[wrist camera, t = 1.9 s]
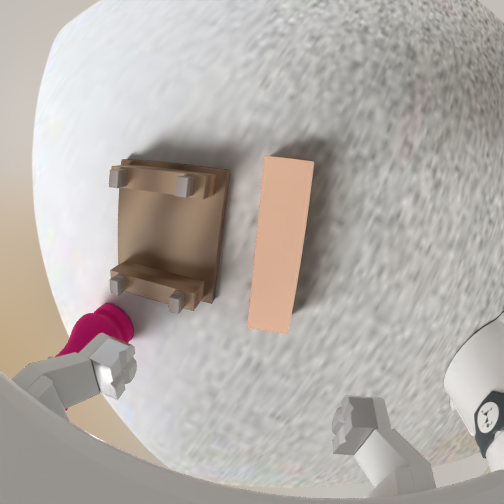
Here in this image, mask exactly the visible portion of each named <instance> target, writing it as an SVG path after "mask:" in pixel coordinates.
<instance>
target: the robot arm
mask: <svg viewBox="0 0 504 504" xmlns="http://www.w3.org/2000/svg"><path fill="white" fill-rule="evenodd" d="M134 354H135V348H134V346H133V345H131V344H128V343H126V342H123V341H121V340H118V339H116V338H114V337H111V336H109V335H106V334H104V333H100V334H98V335H97V336H96V337H95V338H94V339H93V340H92V341H91V342H90V343H88V344H87V345H86V346H85V347H84V348H83V349H82V350H81V351H80V352H79V353H76V352H74V353H70V354H66V355H62V356H58V357H54V358H50V359H46V360H42V361H38V362H34V363H30V364H28V365H27V366H26V367H25V368H24V369H23V370H21V371H20V372H19V373H18V374H17V375H16V376H15V377H14V378H13V379H12V380H11V379H10V378H9V377H7V376H6V375H5V374H4V373H3V372H2V371H0V504H504V312H503V313H502V314H501V315H500V316H499V317H498V319H496V320H495V321H493V322H492V323H490V324H488V325H487V326H485V327H483V328H482V329H481V330H479V331H478V332H477V333H476V334H474V335H473V336H472V337H471V338H470V339H469V340H468V341H467V342H466V343H465V344H464V345H463V346H462V347H461V349H460V350H459V351H458V352H457V354H456V355H455V357H454V358H453V360H452V361H451V363H450V365H449V367H448V369H447V372H446V375H445V379H444V388H445V391H446V392H447V394H448V395H449V396H450V406H451V408H452V410H453V411H458V412H459V414H460V416H461V418H462V420H463V421H464V423H465V425H466V427H467V428H468V430H469V432H470V434H471V435H473V436H475V439H476V442H477V445H478V446H477V447H478V449H479V451H480V452H481V454H482V456H483V458H486V459H487V461H488V464H489V467H490V470H491V473H488V474H485V475H483V476H480V477H477V478H473V479H470V480H467V481H464V482H460V483H456V484H452V485H448V486H445V487H440V488H436V485H435V481H434V477H433V472H432V468H431V464H430V463H429V462H428V461H427V460H426V459H425V458H424V457H423V456H422V455H421V454H420V453H419V452H418V451H417V450H416V449H415V448H414V447H413V446H412V445H411V444H410V443H409V442H407V441H406V440H405V439H404V438H403V437H402V436H401V435H400V434H399V433H398V432H397V431H396V430H395V429H391V425H390V421H389V417H388V413H387V409H386V405H385V401H384V399H383V398H379V397H363V396H350V395H346V396H345V397H344V398H343V400H342V407H340V408H338V409H337V411H336V413H335V415H334V418H333V422H332V431H333V433H334V434H335V435H336V436H335V437H334V439H333V454H344V455H354V458H355V459H356V461H357V462H358V464H359V465H360V467H361V468H362V469H363V471H364V472H365V474H366V475H367V477H368V478H369V480H370V481H371V483H372V484H373V485H374V487H375V488H374V489H373V490H371V491H370V492H369V493H368V494H366V495H365V496H364V498H348V499H329V498H306V497H293V496H284V495H276V494H268V493H261V492H255V491H250V490H244V489H239V488H234V487H230V486H225V485H221V484H217V483H213V482H209V481H205V480H202V479H198V478H195V477H192V476H188V475H185V474H182V473H179V472H176V471H173V470H170V469H167V468H164V467H162V466H159V465H156V464H154V463H151V462H149V461H146V460H144V459H141V458H139V457H136V456H134V455H132V454H130V453H127V452H125V451H123V450H121V449H119V448H117V447H115V446H112V445H110V444H109V443H107V442H104V441H102V440H101V439H99V438H97V437H95V436H93V435H91V434H89V433H88V432H86V431H84V430H82V429H81V428H79V427H77V426H76V425H74V424H72V423H70V422H69V421H70V420H69V417H68V415H67V413H66V411H65V409H66V408H69V407H71V406H73V405H75V404H78V403H80V402H82V401H84V400H86V399H89V398H91V397H93V396H95V395H97V394H99V393H100V392H101V393H103V394H105V395H107V396H110V397H112V398H114V399H116V400H118V399H119V397H120V396H121V395H122V393H123V392H124V391H125V384H127V383H130V382H131V381H132V379H133V378H134V376H135V373H136V368H137V364H136V360H135V359H134V358H133V355H134Z"/></svg>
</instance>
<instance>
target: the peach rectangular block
mask: <svg viewBox="0 0 504 504" xmlns="http://www.w3.org/2000/svg"><path fill="white" fill-rule="evenodd" d="M313 168H314V162H313V161H306V160H298V159H290V158H282V157H272V156H264V165H263V175H262V186H261V196H260V206H259V216H258V226H257V236H256V246H255V257H254V267H253V276H252V286H251V296H250V306H249V316H248V326H247V328H253V329H259V330H265V331H271V332H277V333H284V334H288V331H289V326H290V321H291V315H292V310H293V304H294V299H295V293H296V287H297V281H298V275H299V269H300V263H301V256H302V250H303V243H304V237H305V230H306V223H307V215H308V208H309V200H310V193H311V185H312V176H313Z"/></svg>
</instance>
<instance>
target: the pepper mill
mask: <svg viewBox="0 0 504 504" xmlns="http://www.w3.org/2000/svg"><path fill="white" fill-rule="evenodd" d="M100 333H104V334H106V335H109V336H111V337H114V338H116V339H118V340H121V341H123V342H126V343H128V342H129V341H130V340H131V339H132V336H133V326H132V323H131V321H130V319H129V318H128V316H127V315H126V314H125V313H124V311H122V310H121V309H120V308H119V307H117V306H115V305H112V304H104V305H102V306H101V307H99V308H98V309H97V310H96V311H95V312H94V313H89V314H86V315H84V316H82V317H81V318H80V319H79V320H78V321H77V322H76V324H75V326H74V327H73V330H72V332H71V335H70V338H69V340H68V343H67V344H66V346H65V348H64V349H63V350H62V351H61V352H60V353H59V354H58V355H56V356H55V357H58V356H62V355H66V354H70V353H74V352H76V353H79V352H80V351H81V350H82V349H83V348H84V347H85V346H86V345H87V344H88V343H90V342H91V341H92V340H93V339H94V338H95V337H96V336H97V335H98V334H100ZM50 358H54V357H48V358H47V359H50ZM67 409H68V408H66V409H65V411H66V410H67Z"/></svg>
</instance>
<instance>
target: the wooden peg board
mask: <svg viewBox="0 0 504 504" xmlns="http://www.w3.org/2000/svg"><path fill="white" fill-rule="evenodd" d="M229 176H230V170H225V169H218V168H210V167H202V166H194V165H186V164H176V163H166V162H156V161H144V160H130V159H123V160H122V161H121V165H119V166H112V169H111V170H110V178H109V187H113V188H119V208H118V266H116V267H115V268H113V269H112V270H110V273H111V279H110V291H111V293H112V294H115V295H120V294H121V293H122V292H123V291H126V292H130V293H133V294H136V295H139V296H142V297H146V298H149V299H152V300H156V301H159V302H163V303H166V304H169V312H172V313H176V314H179V313H180V311H181V310H182V309H183V308H184V309H188V310H191V311H194V309H195V308H196V307H197V305H198V304H199V303H200V301H203V302H207V303H211V304H212V302H213V301H214V297H215V287H216V278H217V269H218V261H219V252H220V244H221V236H222V228H223V220H224V212H225V205H226V197H227V190H228V183H229Z"/></svg>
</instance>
